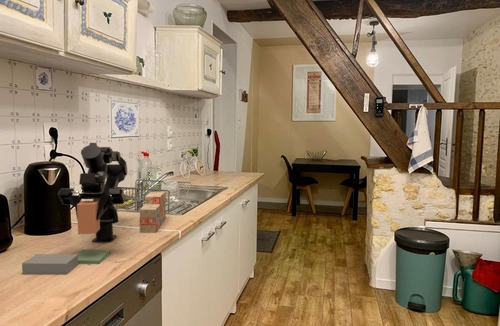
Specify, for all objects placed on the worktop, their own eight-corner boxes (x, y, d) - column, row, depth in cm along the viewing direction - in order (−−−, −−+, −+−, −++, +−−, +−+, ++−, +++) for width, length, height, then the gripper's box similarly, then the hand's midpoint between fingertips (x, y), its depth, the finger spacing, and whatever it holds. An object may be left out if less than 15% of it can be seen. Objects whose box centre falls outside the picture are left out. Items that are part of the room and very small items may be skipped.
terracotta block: (83, 229, 112) (82, 200, 111) (100, 228, 113) (99, 200, 112) (78, 234, 107) (77, 204, 106) (95, 233, 108) (94, 204, 107)
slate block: (36, 264, 105) (36, 254, 105) (78, 264, 106) (77, 254, 105) (22, 273, 98) (21, 263, 98) (66, 274, 99) (66, 263, 98)
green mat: (82, 252, 115) (82, 249, 115) (110, 252, 115) (110, 249, 115) (68, 263, 106) (68, 260, 106) (99, 263, 106) (99, 260, 106)
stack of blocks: (156, 233, 137) (155, 201, 136) (139, 233, 137) (138, 201, 135) (165, 218, 158) (165, 191, 157) (151, 218, 158) (151, 190, 157)
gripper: (58, 162, 110) (45, 206, 100) (122, 162, 113) (115, 205, 103) (68, 183, 118) (57, 225, 109) (127, 183, 121) (121, 224, 112)
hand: (87, 219), depth 108 cm, fingers closed on terracotta block, 5 cm apart
